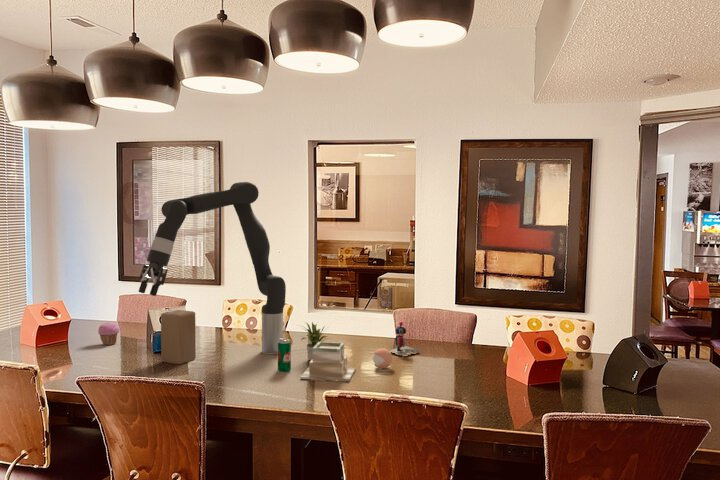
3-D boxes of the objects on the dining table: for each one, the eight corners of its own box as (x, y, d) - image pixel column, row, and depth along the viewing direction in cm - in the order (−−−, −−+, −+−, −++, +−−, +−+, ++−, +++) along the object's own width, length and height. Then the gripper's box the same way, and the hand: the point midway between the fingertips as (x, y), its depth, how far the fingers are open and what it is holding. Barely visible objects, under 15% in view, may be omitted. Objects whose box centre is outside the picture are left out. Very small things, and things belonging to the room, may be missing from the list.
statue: (403, 360, 235) (401, 326, 233) (388, 355, 242) (385, 322, 240) (421, 353, 242) (419, 319, 240) (405, 348, 249) (403, 316, 247)
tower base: (309, 368, 218) (309, 339, 217) (355, 370, 215) (355, 341, 215) (300, 379, 203) (300, 349, 203) (349, 382, 201) (349, 351, 200)
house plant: (288, 359, 230) (288, 320, 230) (312, 353, 241) (313, 315, 240) (311, 366, 221) (311, 325, 220) (336, 359, 231) (336, 320, 230)
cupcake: (123, 343, 256) (123, 322, 255) (106, 347, 248) (105, 325, 248) (111, 341, 260) (111, 320, 260) (94, 344, 253) (93, 323, 253)
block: (196, 359, 230) (196, 311, 229) (179, 365, 221) (178, 315, 220) (178, 356, 234) (177, 309, 233) (160, 362, 225) (159, 313, 224)
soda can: (285, 373, 211) (285, 341, 211) (274, 370, 214) (274, 339, 213) (293, 369, 216) (293, 339, 215) (283, 367, 218) (283, 337, 218)
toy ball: (369, 366, 221) (369, 347, 220) (386, 364, 224) (387, 345, 223) (377, 372, 213) (377, 351, 213) (395, 370, 216) (396, 350, 216)
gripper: (179, 255, 204) (165, 298, 201) (160, 253, 213) (146, 294, 210) (161, 249, 199) (146, 293, 195) (142, 247, 208) (128, 289, 205)
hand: (146, 294), depth 203 cm, fingers open, 8 cm apart
